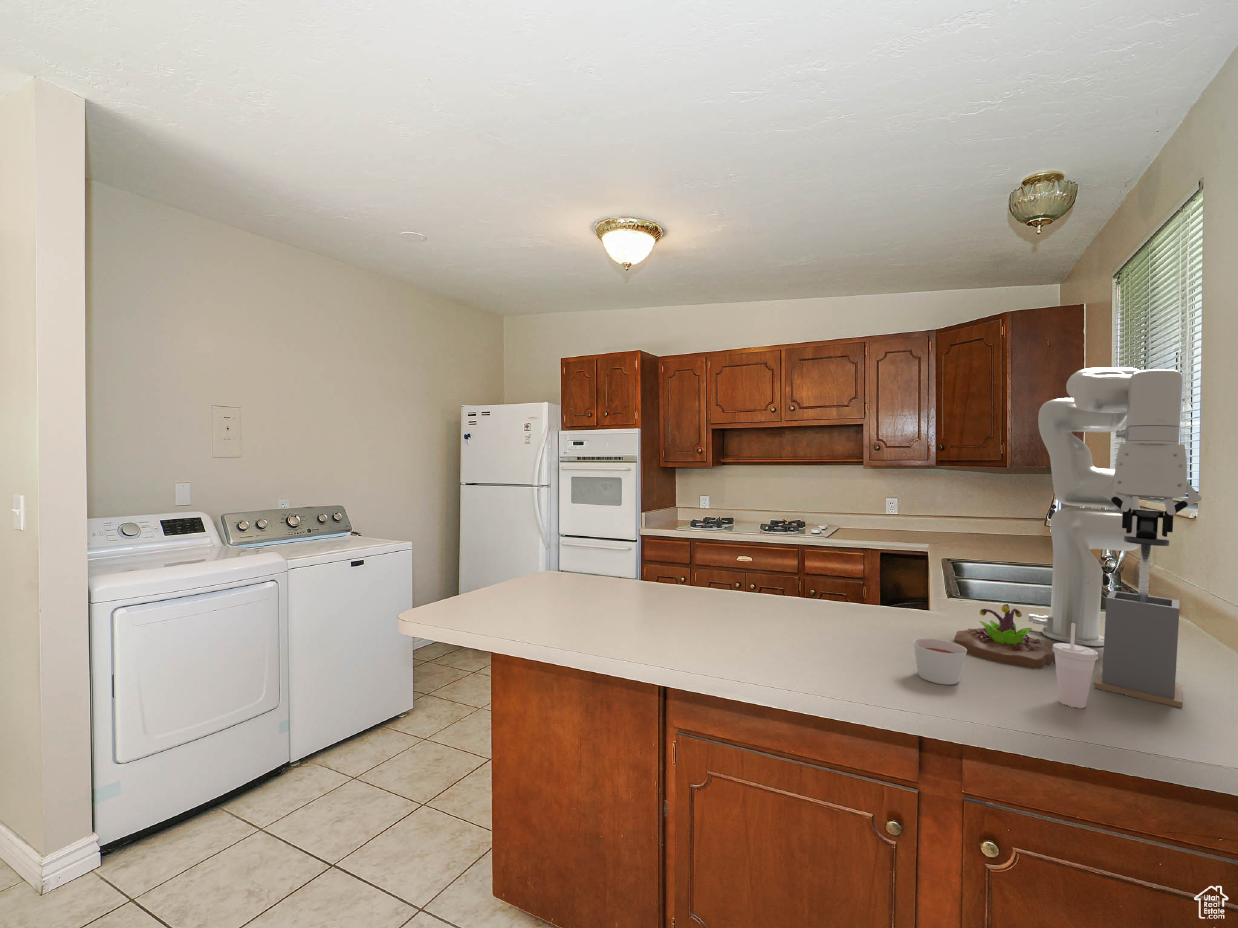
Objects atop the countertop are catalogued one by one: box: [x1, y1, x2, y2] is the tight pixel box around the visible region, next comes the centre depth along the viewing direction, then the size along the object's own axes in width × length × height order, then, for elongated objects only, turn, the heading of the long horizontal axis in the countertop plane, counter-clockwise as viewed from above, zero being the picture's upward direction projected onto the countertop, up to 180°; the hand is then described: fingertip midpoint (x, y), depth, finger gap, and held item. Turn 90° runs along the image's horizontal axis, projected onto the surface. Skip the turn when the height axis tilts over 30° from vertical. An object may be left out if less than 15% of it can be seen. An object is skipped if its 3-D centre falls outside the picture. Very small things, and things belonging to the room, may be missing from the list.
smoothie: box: [1052, 623, 1099, 709], centre depth 105 cm, size 6×6×14 cm
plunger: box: [1124, 508, 1170, 603], centre depth 113 cm, size 7×7×24 cm
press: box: [1093, 590, 1183, 709], centre depth 113 cm, size 12×12×17 cm
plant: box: [953, 603, 1055, 669], centre depth 133 cm, size 20×20×11 cm
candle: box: [913, 637, 968, 686], centre depth 115 cm, size 9×9×6 cm
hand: (1146, 533), depth 113 cm, fingers closed on plunger, 4 cm apart
